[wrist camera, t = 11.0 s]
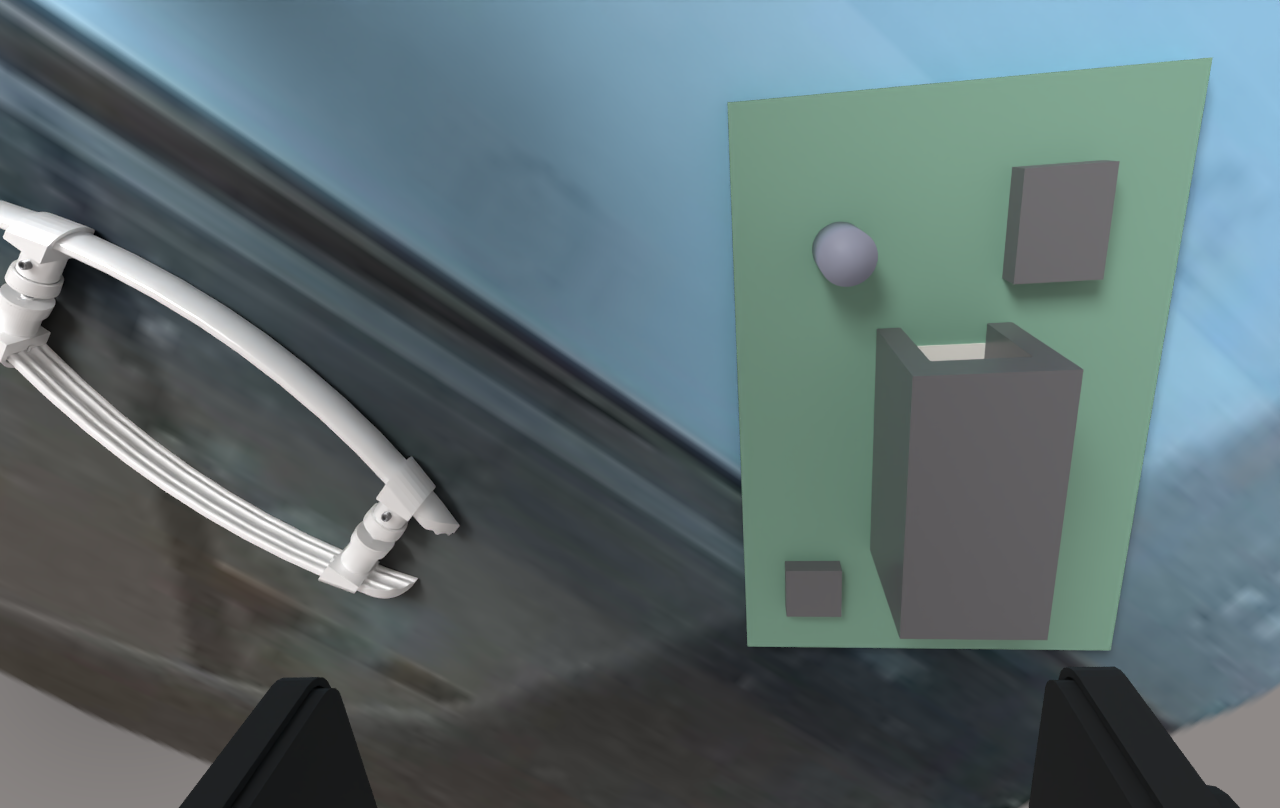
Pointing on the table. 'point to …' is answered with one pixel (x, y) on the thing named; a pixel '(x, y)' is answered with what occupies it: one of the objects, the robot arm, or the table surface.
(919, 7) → the table surface
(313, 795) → the robot arm
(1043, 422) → the block
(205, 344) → the table surface
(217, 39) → the table surface
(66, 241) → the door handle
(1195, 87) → the board
